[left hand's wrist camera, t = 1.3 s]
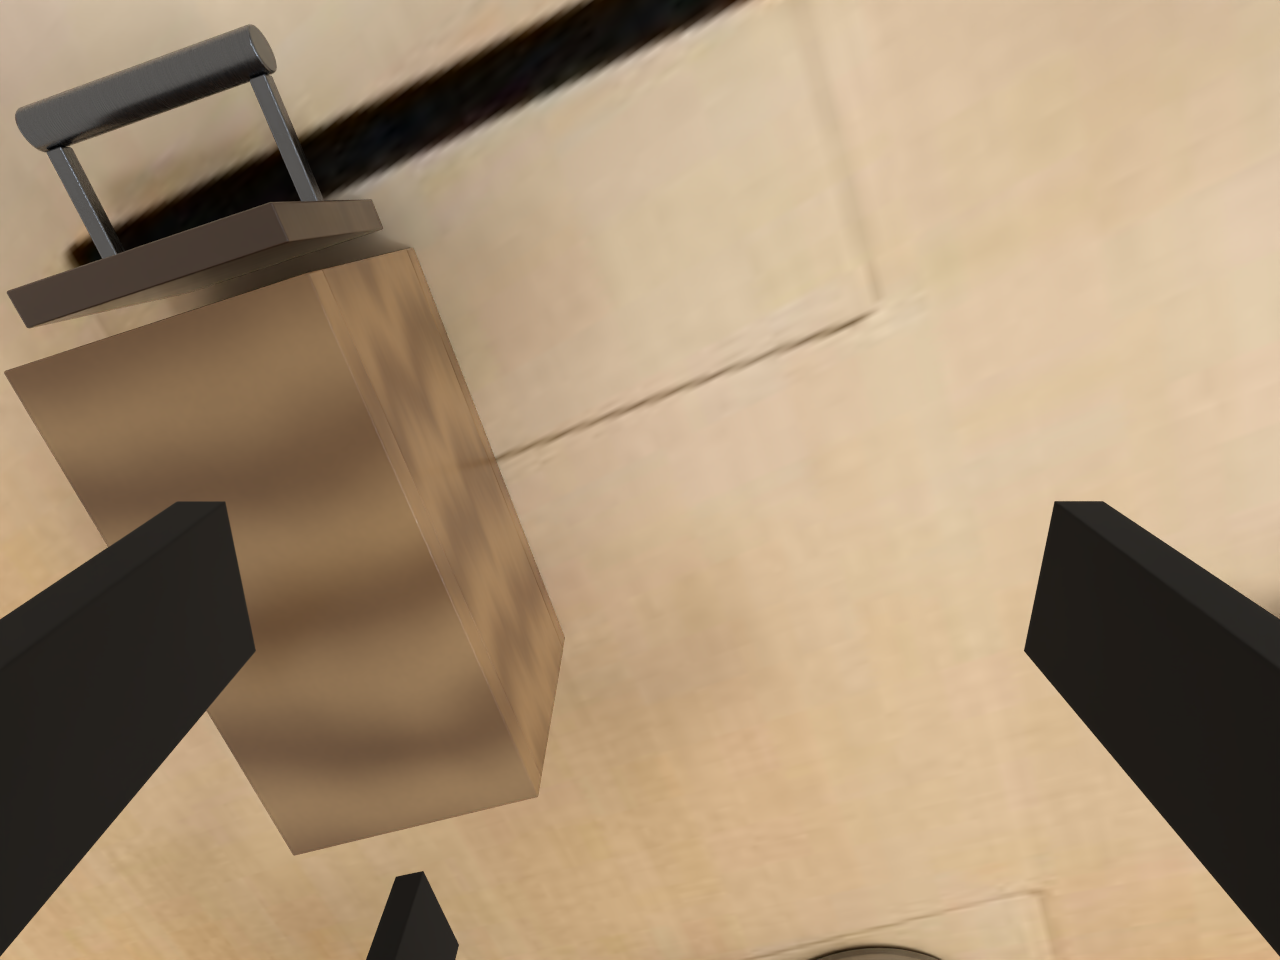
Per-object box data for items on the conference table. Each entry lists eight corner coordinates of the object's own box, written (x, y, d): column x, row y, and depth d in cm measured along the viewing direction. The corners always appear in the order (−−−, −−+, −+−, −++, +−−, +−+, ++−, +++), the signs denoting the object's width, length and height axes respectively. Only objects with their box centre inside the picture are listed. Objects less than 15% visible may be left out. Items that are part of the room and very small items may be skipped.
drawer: (101, 120, 30) (-110, 93, 22) (311, 45, 29) (176, -15, 21) (358, 638, 38) (278, 764, 30) (528, 592, 38) (495, 709, 29)
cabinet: (198, 316, 34) (2, 371, 23) (413, 247, 33) (308, 272, 22) (382, 686, 41) (293, 856, 30) (565, 638, 40) (538, 796, 29)
